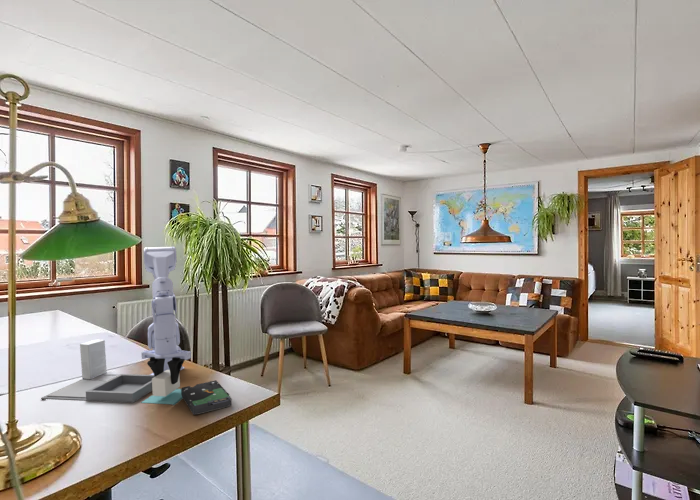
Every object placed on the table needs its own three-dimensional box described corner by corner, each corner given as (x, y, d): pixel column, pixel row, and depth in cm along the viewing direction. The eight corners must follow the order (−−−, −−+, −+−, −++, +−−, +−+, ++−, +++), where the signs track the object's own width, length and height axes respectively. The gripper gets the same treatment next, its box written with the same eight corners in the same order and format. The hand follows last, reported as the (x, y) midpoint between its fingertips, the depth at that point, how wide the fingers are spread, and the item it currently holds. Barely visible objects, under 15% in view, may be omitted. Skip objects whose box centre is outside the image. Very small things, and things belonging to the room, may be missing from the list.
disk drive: (180, 397, 111) (193, 416, 99) (180, 387, 111) (193, 405, 99) (216, 388, 117) (232, 405, 105) (216, 379, 117) (232, 395, 105)
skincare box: (98, 372, 135) (96, 339, 134) (107, 373, 133) (105, 339, 133) (81, 378, 129) (79, 343, 129) (90, 379, 128) (88, 344, 127)
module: (167, 385, 115) (167, 369, 115) (180, 386, 115) (179, 370, 115) (152, 395, 108) (151, 378, 108) (165, 396, 108) (164, 379, 108)
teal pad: (163, 389, 118) (163, 388, 118) (193, 390, 116) (193, 389, 116) (141, 404, 108) (141, 402, 108) (173, 405, 107) (173, 403, 107)
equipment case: (80, 381, 126) (80, 372, 126) (163, 384, 122) (163, 375, 122) (41, 399, 113) (40, 389, 112) (133, 403, 108) (132, 393, 108)
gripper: (133, 340, 109) (135, 387, 109) (180, 341, 106) (182, 388, 107) (149, 333, 116) (151, 378, 116) (194, 334, 113) (196, 379, 114)
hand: (167, 382), depth 112 cm, fingers closed on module, 4 cm apart
